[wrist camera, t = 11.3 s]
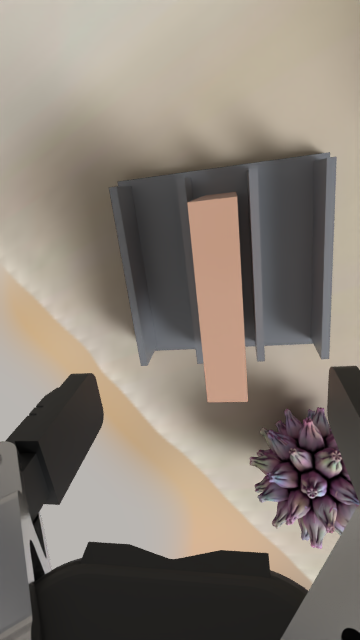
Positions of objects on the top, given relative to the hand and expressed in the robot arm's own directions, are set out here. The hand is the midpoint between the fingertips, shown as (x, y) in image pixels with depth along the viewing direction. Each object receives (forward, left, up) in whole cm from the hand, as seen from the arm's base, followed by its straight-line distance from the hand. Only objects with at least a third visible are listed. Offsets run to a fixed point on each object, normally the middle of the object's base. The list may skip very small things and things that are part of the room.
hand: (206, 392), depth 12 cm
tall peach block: (0, 0, -20) cm, 20 cm away
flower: (+19, +7, -22) cm, 30 cm away
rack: (0, 0, -22) cm, 22 cm away
